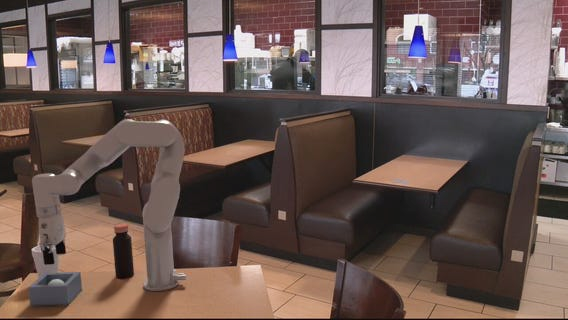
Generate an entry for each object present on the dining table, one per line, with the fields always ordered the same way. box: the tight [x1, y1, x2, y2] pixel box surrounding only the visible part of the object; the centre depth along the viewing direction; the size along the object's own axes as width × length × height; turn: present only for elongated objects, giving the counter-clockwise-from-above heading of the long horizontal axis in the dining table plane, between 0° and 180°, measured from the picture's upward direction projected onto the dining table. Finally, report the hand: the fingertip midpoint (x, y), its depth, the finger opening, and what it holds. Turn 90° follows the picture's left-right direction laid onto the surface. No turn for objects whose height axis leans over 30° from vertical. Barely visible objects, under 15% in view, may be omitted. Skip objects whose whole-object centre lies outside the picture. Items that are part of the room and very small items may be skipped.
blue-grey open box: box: [27, 271, 83, 308], centre depth 177 cm, size 13×13×7 cm
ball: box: [48, 279, 64, 285], centre depth 177 cm, size 6×6×6 cm
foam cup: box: [31, 245, 60, 278], centre depth 193 cm, size 10×9×13 cm
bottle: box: [112, 223, 135, 280], centre depth 195 cm, size 7×7×20 cm
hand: (55, 258), depth 176 cm, fingers open, 9 cm apart
